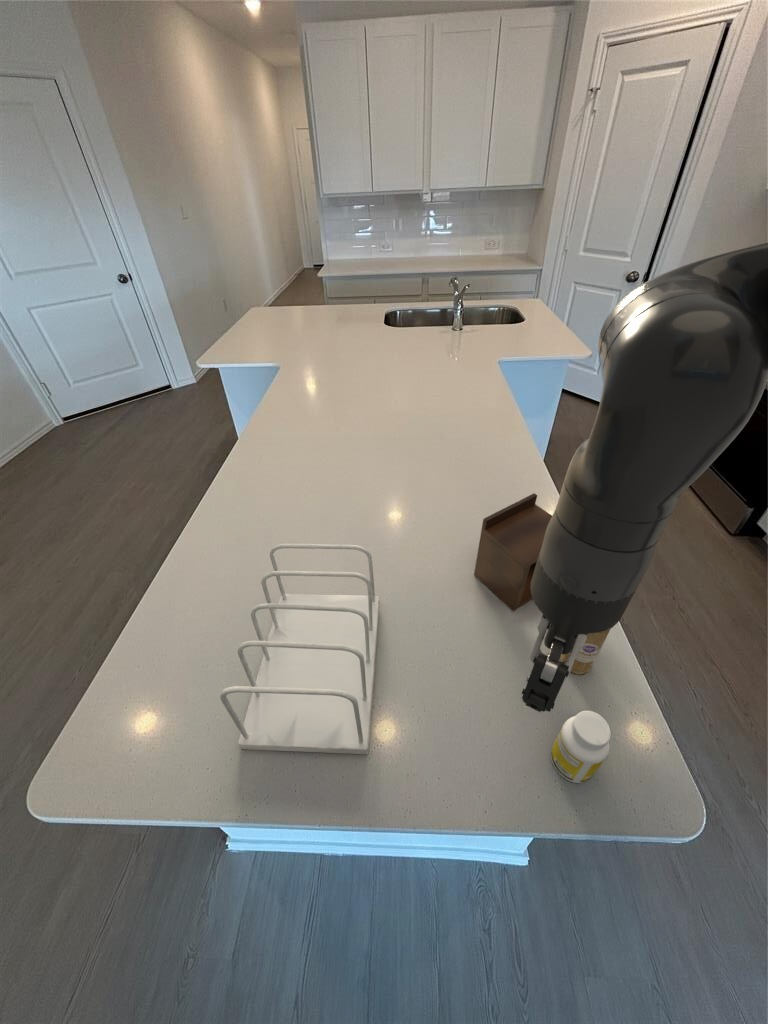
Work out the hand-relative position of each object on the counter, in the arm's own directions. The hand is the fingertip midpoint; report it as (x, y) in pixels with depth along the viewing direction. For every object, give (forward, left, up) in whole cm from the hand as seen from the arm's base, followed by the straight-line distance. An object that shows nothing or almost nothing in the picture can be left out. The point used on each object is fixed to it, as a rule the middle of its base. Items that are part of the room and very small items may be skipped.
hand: (546, 668), depth 45 cm
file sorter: (+25, +16, -20) cm, 36 cm away
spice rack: (+21, -22, -20) cm, 36 cm away
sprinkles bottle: (+4, -17, -20) cm, 27 cm away
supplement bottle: (-5, -5, -20) cm, 22 cm away
